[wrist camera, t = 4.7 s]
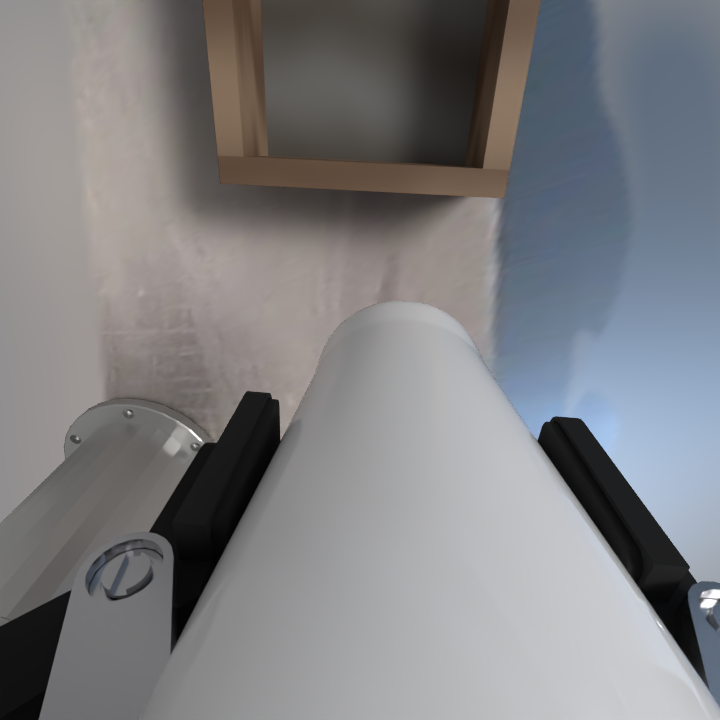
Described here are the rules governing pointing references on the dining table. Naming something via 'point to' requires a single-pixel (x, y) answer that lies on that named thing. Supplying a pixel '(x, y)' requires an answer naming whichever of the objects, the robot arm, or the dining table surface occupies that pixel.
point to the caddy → (369, 92)
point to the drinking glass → (419, 562)
